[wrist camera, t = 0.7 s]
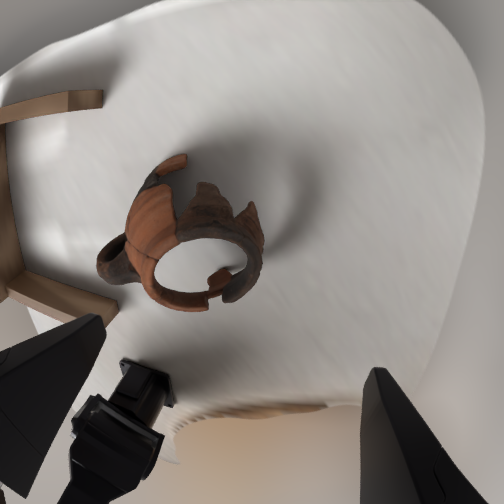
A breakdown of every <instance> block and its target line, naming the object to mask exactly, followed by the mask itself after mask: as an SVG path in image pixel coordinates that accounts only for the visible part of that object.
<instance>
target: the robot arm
mask: <svg viewBox="0 0 504 504" xmlns="http://www.w3.org/2000/svg"><path fill="white" fill-rule="evenodd" d="M106 335H107V334H106V329H105V326H104V322H103V319H102V317H101V315H99V314H95V313H88V314H86V315H83V316H81V317H79V318H76V319H74V320H72V321H70V322H67V323H65V324H63V325H60V326H58V327H56V328H53V329H51V330H49V331H46V332H44V333H42V334H39V335H37V336H35V337H33V338H30V339H28V340H26V341H23V342H21V343H19V344H16V345H14V346H12V347H11V348H10V347H9V348H7V349H5V350H3V351H1V352H0V504H6V501H5V497H4V492H3V490H2V489H1V486H2V484H5V485H6V486H7V487H9V488H10V489H12V490H13V491H14V492H16V493H17V494H19V495H20V496H22V497H23V498H25V499H26V498H27V496H28V494H29V492H30V489H31V487H32V485H33V483H34V480H35V478H36V476H37V474H38V471H39V469H40V467H41V465H42V463H43V461H44V458H45V456H46V454H47V452H48V450H49V448H50V446H51V444H52V442H53V440H54V438H55V436H56V434H57V432H58V430H59V428H60V427H61V425H62V423H63V421H64V419H65V417H66V415H67V413H68V412H69V410H70V408H71V406H72V404H73V402H74V401H75V399H76V397H77V395H78V393H79V392H80V390H81V388H82V386H83V384H84V383H85V381H86V379H87V377H88V376H89V374H90V372H91V370H92V368H93V366H94V363H95V361H96V359H97V357H98V355H99V352H100V350H101V348H102V346H103V344H104V342H105V339H106ZM119 364H120V368H121V371H122V374H123V377H122V379H121V380H120V382H119V383H118V385H117V386H116V388H115V390H114V392H113V393H112V395H111V396H110V398H109V400H108V401H107V400H106V399H104V398H103V397H102V396H101V395H100V394H97V395H96V396H92V395H90V396H89V398H88V399H87V401H86V402H85V404H84V405H83V406H82V407H81V409H80V410H79V411H78V412H77V413H76V414H75V415H74V417H73V418H72V420H71V422H72V426H73V427H72V432H71V434H70V436H71V437H73V438H74V439H75V440H74V441H73V443H72V445H71V447H70V450H69V469H70V482H69V484H68V486H67V487H66V489H65V491H64V492H63V494H62V496H61V498H60V500H59V501H58V503H57V504H109V502H110V501H112V500H114V499H116V498H118V497H120V496H122V495H124V494H126V493H128V492H130V491H132V490H134V489H136V487H137V486H138V484H139V482H140V480H145V479H146V478H147V477H148V476H149V474H150V473H151V471H152V470H153V468H154V466H155V463H156V461H157V458H158V455H159V452H160V449H161V446H162V443H163V440H164V437H165V435H163V434H161V433H158V432H156V431H154V430H153V429H152V427H153V425H154V423H155V421H156V419H157V417H158V415H159V413H160V411H161V409H162V407H163V405H164V406H167V407H170V408H173V406H174V400H173V394H172V388H171V381H170V377H169V376H168V375H167V374H164V373H161V372H158V371H155V370H152V369H149V368H146V367H143V366H140V365H137V364H134V363H131V362H128V361H126V360H121V361H120V362H119ZM441 447H442V445H441V444H440V442H439V441H438V439H437V438H436V437H435V435H434V434H433V432H432V431H431V430H430V428H429V427H428V425H427V424H426V422H425V421H424V420H423V418H422V417H421V415H420V414H419V413H418V411H417V410H416V408H415V407H414V406H413V404H412V403H411V401H410V400H409V399H408V397H407V396H406V395H405V393H404V392H403V390H402V389H401V388H400V386H399V385H398V384H397V382H396V381H395V380H394V378H393V377H392V376H391V374H390V373H389V372H388V370H387V369H386V368H382V367H373V368H372V369H371V371H370V374H369V376H368V378H367V380H366V382H365V384H364V388H363V401H362V415H361V428H360V457H361V480H360V483H361V484H360V504H488V503H487V502H486V501H485V500H484V498H483V497H482V496H481V495H480V494H479V493H478V491H477V490H476V489H475V488H474V487H473V486H472V484H471V483H470V482H469V481H468V480H467V479H466V478H465V476H464V475H463V474H462V472H461V471H460V470H459V469H458V468H457V466H456V465H455V464H454V462H453V461H452V460H451V458H450V457H449V455H448V454H447V452H446V451H445V450H444V448H443V447H442V448H441Z"/></svg>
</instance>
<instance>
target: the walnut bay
mask: <svg viewBox="0 0 504 504" xmlns="http://www.w3.org/2000/svg"><path fill="white" fill-rule="evenodd" d="M102 96H103V90H76V91H65V92H60V93H55V94H51V95H46V96H42V97H38V98H34V99H30V100H26V101H22V102H18V103H15V104H11V105H8V106H5V107H1V108H0V303H1V302H2V301H4V300H5V299H6V298H7V297H10V298H12V299H14V300H16V301H18V302H20V303H22V304H24V305H26V306H28V307H30V308H32V309H34V310H36V311H38V312H41V313H43V314H45V315H47V316H49V317H52V318H54V319H56V320H58V321H61V322H63V323H67V322H70V321H72V320H74V319H76V318H79V317H81V316H83V315H86V314H88V313H95V314H99V315H101V317H102V319H103V322H104V326H105V328H106V327H107V326H108V324H109V323H110V322H111V321H112V320H113V319H114V318H115V316H116V315H117V314H118V313H119V311H118V306H117V301H115V300H112V299H109V298H106V297H102V296H99V295H96V294H93V293H90V292H87V291H83V290H80V289H77V288H74V287H71V286H68V285H65V284H63V283H60V282H57V281H54V280H51V279H48V278H46V277H43V276H40V275H37V274H35V273H32V272H29V271H27V270H26V269H25V265H24V261H23V258H22V253H21V249H20V245H19V240H18V236H17V231H16V226H15V221H14V215H13V209H12V203H11V196H10V189H9V180H8V171H7V159H6V141H5V123H8V122H12V121H17V120H22V119H27V118H32V117H38V116H44V115H50V114H56V113H63V112H71V111H79V110H88V109H98V108H102Z"/></svg>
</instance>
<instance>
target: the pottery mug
mask: <svg viewBox="0 0 504 504" xmlns="http://www.w3.org/2000/svg"><path fill="white" fill-rule="evenodd" d="M186 166H187V155H185V154H181V155H177V156H174V157H172V158H169V159H167V160H165V161H164V162H162V163H161V164H160V165H158V166H157V167H156V168H155V169H154V170H153V171H152V172H151V173H150V174H149V176H148V177H147V178H146V180H145V182H144V184H143V186H142V187H141V188H140V190H139V192H138V194H137V196H136V197H135V199H134V201H133V203H132V206H131V208H130V211H129V213H128V216H127V220H126V226H125V232H124V233H123V234H121V235H119V236H118V237H116V238H114V239H113V240H112V241H110V242H109V243H108V244H107V245H106V246H105V247H104V248H103V249H102V250H101V251H100V253H99V254H98V256H97V264H96V266H97V272H98V274H99V276H100V277H101V278H103V279H104V280H105V281H106V282H107V283H109V284H112V285H124V284H127V283H132V282H138V283H142V285H143V287H144V289H145V291H146V292H147V294H148V295H149V296H150V297H151V298H152V299H153V300H155V301H156V302H157V303H159V304H161V305H163V306H165V307H168V308H170V309H174V310H178V311H184V312H201V311H206V310H208V309H209V303H208V299H210V298H214V297H217V296H220V295H222V301H223V302H224V303H232V302H235V301H237V300H238V299H240V298H241V297H243V296H244V295H245V294H246V293H247V292H248V291H249V290H251V288H252V287H253V286H254V285H255V283H256V282H257V280H258V278H259V275H260V271H261V269H262V264H263V263H262V256H261V255H262V253H263V245H264V235H263V232H262V229H261V226H260V223H259V219H258V215H257V210H256V207H255V204H254V202H253V201H250V202H249V203H248V206H247V207H246V209H245V210H244V211H242V212H241V213H240V214H239V215H237V217H235V218H234V217H233V212H232V207H231V206H230V204H229V202H228V201H227V200H226V199H225V198H224V197H223V196H222V195H221V194H220V192H219V189H218V188H217V186H215V185H213V184H210V183H206V182H199V183H198V184H197V189H196V196H195V197H194V198H193V199H192V200H191V201H190V203H189V205H188V207H187V208H186V209H185V211H184V212H183V213H182V215H181V216H180V217H179V218H178V219H177V217H176V215H175V212H174V208H173V192H172V189H171V188H170V187H169V186H168V185H166V184H161V185H159V186H158V182H157V181H158V179H159V178H160V177H161V176H163V175H166V174H168V173H170V172H173V171H176V170H179V169H183V168H185V167H186ZM200 238H215V239H223V240H227V241H230V242H232V243H235V244H237V245H238V246H239V247H241V248H242V249H243V251H244V252H245V253H246V254H247V257H248V262H247V265H246V268H245V269H243V270H241V271H240V272H238V273H236V274H234V275H232V274H231V273H230V272H228V271H227V270H226V269H225V268H223V269H220V270H219V271H217V272H215V273H214V274H212V275H211V276H210V277H209V278H208V279H207V283H208V285H209V290H208V291H203V292H194V293H186V292H178V291H175V290H170V289H168V288H165V287H163V286H161V285H160V284H159V283H158V282H157V280H156V279H155V276H154V271H155V267H156V265H157V263H158V261H159V259H161V257H162V256H163V255H164V254H165V253H167V252H168V251H169V250H171V249H172V248H174V247H176V246H177V245H179V244H180V243H181V242H186V241H190V240H195V239H200Z"/></svg>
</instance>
